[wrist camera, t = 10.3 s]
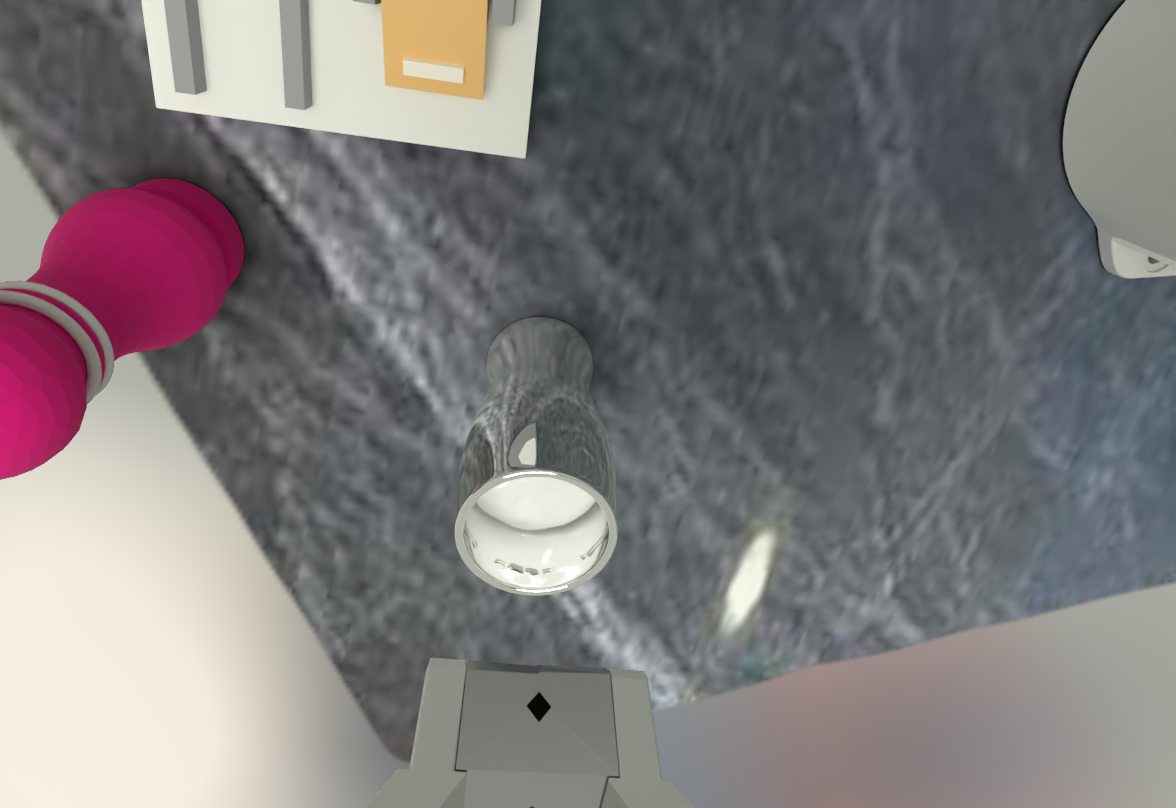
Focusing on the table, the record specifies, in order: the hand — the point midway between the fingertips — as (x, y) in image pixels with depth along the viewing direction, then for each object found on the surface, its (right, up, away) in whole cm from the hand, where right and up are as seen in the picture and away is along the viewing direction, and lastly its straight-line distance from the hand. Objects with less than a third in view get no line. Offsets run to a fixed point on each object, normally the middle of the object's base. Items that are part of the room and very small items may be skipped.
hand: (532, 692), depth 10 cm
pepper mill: (-20, +13, +28) cm, 37 cm away
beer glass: (-2, +6, +33) cm, 33 cm away
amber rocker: (-5, +20, +18) cm, 27 cm away
